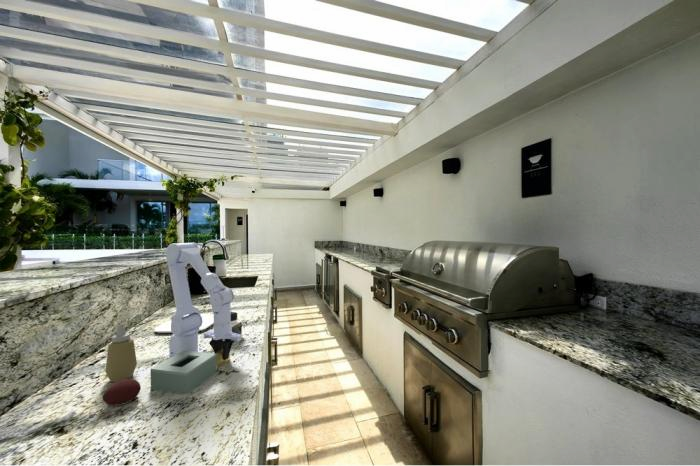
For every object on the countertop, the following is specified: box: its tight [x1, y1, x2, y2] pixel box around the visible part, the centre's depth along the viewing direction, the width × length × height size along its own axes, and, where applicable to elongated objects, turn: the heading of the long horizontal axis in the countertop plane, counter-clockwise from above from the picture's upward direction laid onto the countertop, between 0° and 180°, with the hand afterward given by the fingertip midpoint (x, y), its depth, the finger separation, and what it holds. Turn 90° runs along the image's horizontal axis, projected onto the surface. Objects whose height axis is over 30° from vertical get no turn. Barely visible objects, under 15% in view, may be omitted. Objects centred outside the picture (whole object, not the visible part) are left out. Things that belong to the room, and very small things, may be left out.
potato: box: [102, 378, 141, 406], centre depth 78 cm, size 7×8×6 cm
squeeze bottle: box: [105, 323, 138, 383], centre depth 91 cm, size 8×8×18 cm
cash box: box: [150, 350, 218, 395], centre depth 89 cm, size 13×13×6 cm
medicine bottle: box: [223, 310, 243, 341], centre depth 123 cm, size 7×7×12 cm
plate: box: [153, 314, 214, 334], centre depth 140 cm, size 25×25×2 cm
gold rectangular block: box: [215, 349, 231, 367], centre depth 101 cm, size 2×5×4 cm, turn 168°
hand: (222, 358), depth 101 cm, fingers closed on gold rectangular block, 2 cm apart
